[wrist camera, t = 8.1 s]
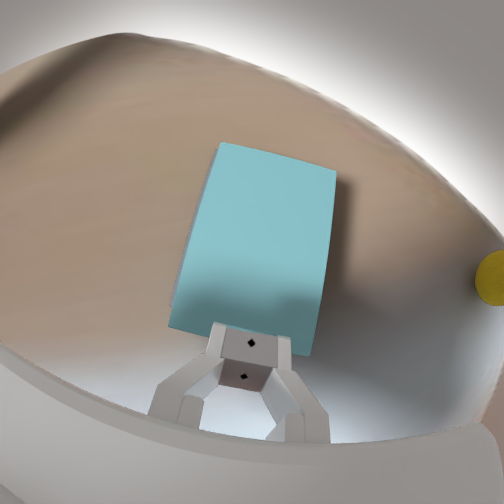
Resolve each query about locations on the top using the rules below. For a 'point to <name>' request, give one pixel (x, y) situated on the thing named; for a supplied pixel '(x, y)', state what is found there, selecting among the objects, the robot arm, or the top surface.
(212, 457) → the robot arm
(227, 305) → the teal block
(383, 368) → the top surface
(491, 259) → the lemon
